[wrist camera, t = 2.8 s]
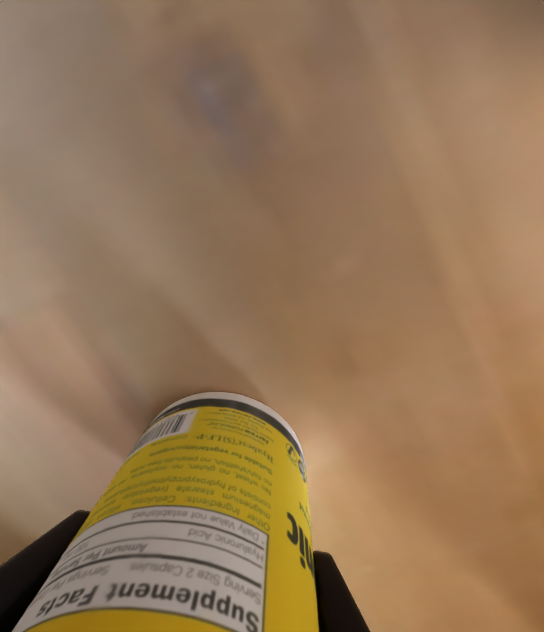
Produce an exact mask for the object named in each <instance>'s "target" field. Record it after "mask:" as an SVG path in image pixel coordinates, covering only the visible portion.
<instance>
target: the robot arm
mask: <svg viewBox="0 0 544 632" xmlns="http://www.w3.org/2000/svg"><path fill="white" fill-rule="evenodd" d="M90 512H91V511H85V510H78V511H76V512H74V513H73V514H72V515H70V516H69V517H67V518H66V519H65V520H63V521H62V522H61V523H59V524H58V525H56V526H55V527H54V528H52V529H51V530H50V531H48V532H47V533H45V534H44V535H43V536H41V537H40V538H38V539H37V540H36V541H34V542H33V543H32V544H30V545H29V546H27V547H26V548H25V549H23V550H22V551H20V552H19V553H18V554H16V555H15V556H14V557H12V558H11V559H9V560H8V561H7V562H5V563H4V564H3V565H1V566H0V632H12V631H13V629H14V628H15V626H16V625H17V623H18V622H19V621H20V619H21V618H22V616H23V615H24V613H25V611H26V609H27V608H28V606H29V605H30V604H31V603H32V601H33V600H34V598H35V597H36V595H37V594H38V592H39V591H40V589H41V588H42V586H43V585H44V583H45V582H46V580H47V579H48V577H49V575H50V574H51V572H52V570H53V569H54V568H55V566H56V565H57V563H58V562H59V560H60V559H61V557H62V555H63V554H64V552H65V551H66V550H67V548H68V546H69V544H70V543H71V542H72V540H73V539H74V537H75V536H76V534H77V533H78V531H79V530H80V528H81V527H82V525H83V524H84V522H85V521H86V519H87V518H88V516H89V514H90ZM313 560H314V573H315V582H316V599H317V612H318V625H319V632H370V630H369V628H368V626H367V625H366V623H365V621H364V619H363V617H362V615H361V613H360V611H359V609H358V607H357V605H356V603H355V601H354V599H353V597H352V595H351V593H350V591H349V589H348V587H347V585H346V583H345V581H344V579H343V577H342V575H341V573H340V571H339V569H338V568H337V566H336V564H335V562H334V560H333V558H332V556H331V555H330V554H329V553H327V552H322V551H314V552H313Z"/></svg>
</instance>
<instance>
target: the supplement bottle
mask: <svg viewBox="0 0 544 632" xmlns="http://www.w3.org/2000/svg"><path fill="white" fill-rule="evenodd" d="M12 632H319V625H318V612H317V599H316V582H315V573H314V560H313V550H312V539H311V527H310V516H309V502H308V488H307V476H306V467H305V461H304V456H303V452H302V448H301V445H300V443H299V441H298V438H297V436H296V435H295V433H294V431H293V430H292V428H291V427H290V425H289V424H288V423H287V422H286V421H285V420H284V419H283V418H282V417H281V416H280V415H279V414H278V413H277V412H275V411H274V410H273V409H271V408H270V407H268V406H266V405H265V404H263V403H261V402H259V401H257V400H254V399H252V398H249V397H246V396H243V395H239V394H234V393H227V392H206V393H199V394H195V395H191V396H188V397H185V398H183V399H180V400H178V401H176V402H175V403H173V404H171V405H170V406H168V407H167V408H166V409H164V410H163V411H162V412H161V413H160V414H159V415H158V416H157V417H156V418H155V419H154V420H153V421H152V422H151V424H150V425H149V426H148V427H147V429H146V430H145V431H144V433H143V435H142V436H141V438H140V439H139V441H138V442H137V443H136V445H135V446H134V448H133V449H132V451H131V452H130V454H129V455H128V457H127V458H126V460H125V461H124V463H123V465H122V466H121V468H120V469H119V471H118V472H117V473H116V475H115V477H114V478H113V479H112V481H111V483H110V484H109V486H108V487H107V489H106V491H105V492H104V494H103V495H102V497H101V498H100V500H99V501H98V503H97V504H96V505H95V507H94V508H93V509H92V511H91V512H90V514H89V516H88V518H87V519H86V521H85V522H84V524H83V525H82V527H81V528H80V530H79V531H78V533H77V534H76V536H75V537H74V539H73V540H72V542H71V543H70V544H69V546H68V548H67V550H66V551H65V552H64V554H63V555H62V557H61V559H60V560H59V562H58V563H57V565H56V566H55V568H54V569H53V570H52V572H51V574H50V575H49V577H48V579H47V580H46V582H45V583H44V585H43V586H42V588H41V589H40V591H39V592H38V594H37V595H36V597H35V598H34V600H33V601H32V603H31V604H30V605H29V606H28V608H27V609H26V611H25V613H24V615H23V616H22V618H21V619H20V621H19V622H18V623H17V625H16V626H15V628H14V629H13V631H12Z"/></svg>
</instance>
